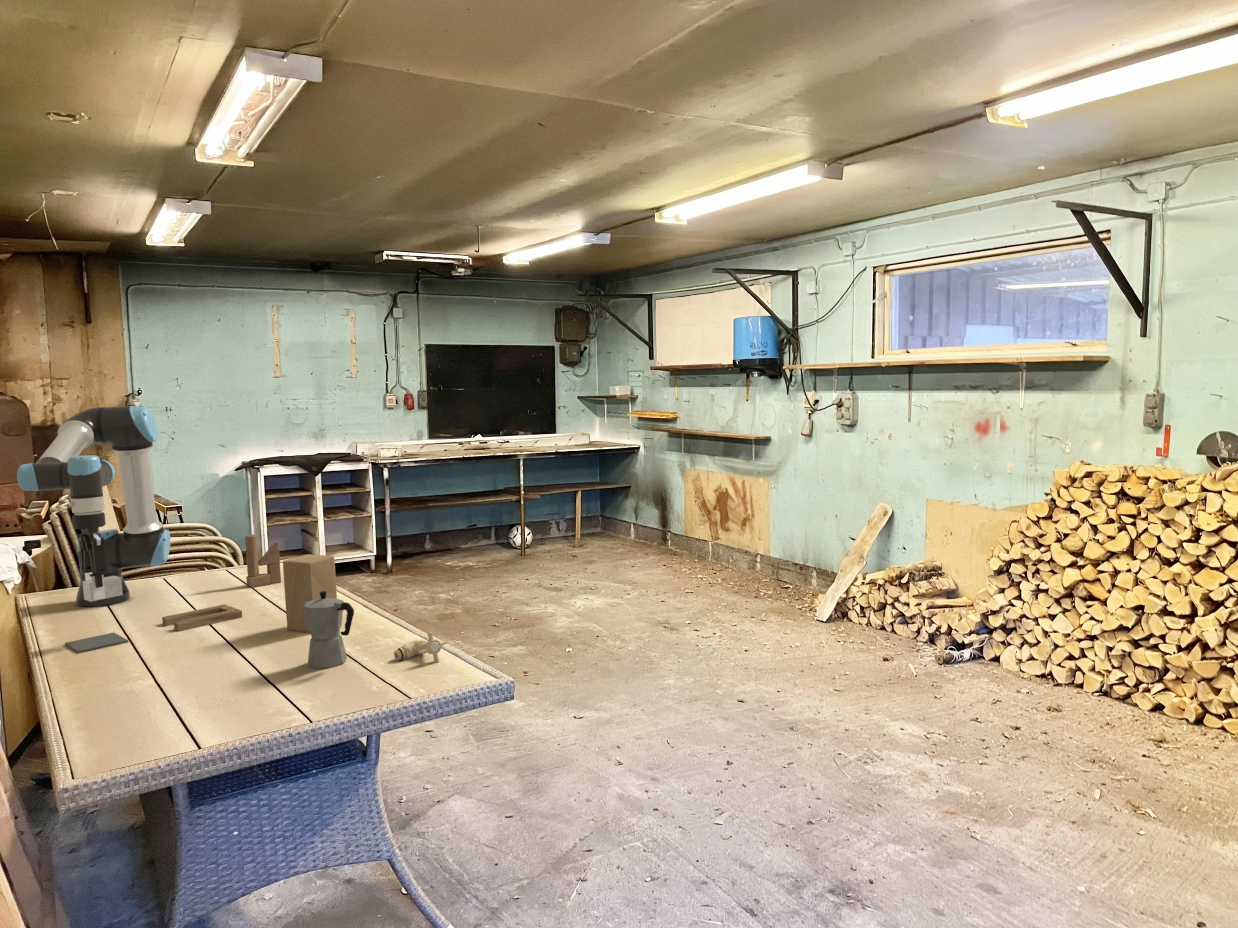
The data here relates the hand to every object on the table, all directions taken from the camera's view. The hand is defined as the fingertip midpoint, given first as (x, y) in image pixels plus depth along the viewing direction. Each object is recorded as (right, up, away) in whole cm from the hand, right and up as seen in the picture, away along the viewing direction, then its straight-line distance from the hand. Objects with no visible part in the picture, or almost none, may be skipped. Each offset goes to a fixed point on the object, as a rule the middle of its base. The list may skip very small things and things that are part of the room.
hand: (96, 597), depth 230 cm
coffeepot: (+72, -13, -22) cm, 76 cm away
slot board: (+19, -10, +21) cm, 30 cm away
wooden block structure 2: (+18, -6, +67) cm, 69 cm away
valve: (+93, -12, -20) cm, 96 cm away
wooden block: (+56, -10, +10) cm, 57 cm away
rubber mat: (0, -13, +1) cm, 13 cm away
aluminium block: (+1, 0, +2) cm, 2 cm away
